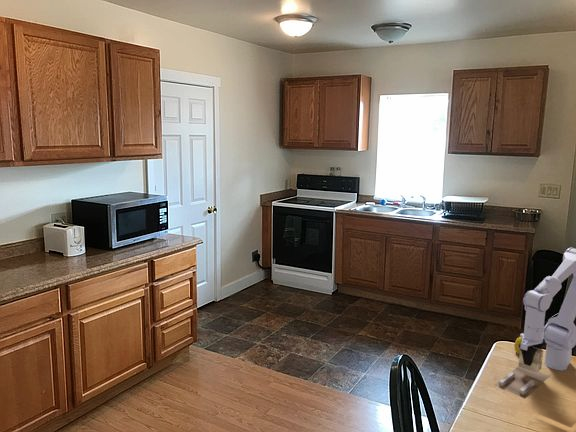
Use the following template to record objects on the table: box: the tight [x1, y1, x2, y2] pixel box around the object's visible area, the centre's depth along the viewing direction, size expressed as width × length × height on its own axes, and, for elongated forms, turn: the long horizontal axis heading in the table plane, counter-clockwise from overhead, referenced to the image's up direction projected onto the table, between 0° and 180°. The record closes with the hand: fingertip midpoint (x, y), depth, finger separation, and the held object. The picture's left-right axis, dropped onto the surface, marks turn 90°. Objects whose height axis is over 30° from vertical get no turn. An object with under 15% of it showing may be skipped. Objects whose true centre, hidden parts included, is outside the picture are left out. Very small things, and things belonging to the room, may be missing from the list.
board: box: [494, 366, 550, 399], centre depth 161 cm, size 20×10×3 cm, turn 131°
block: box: [517, 347, 544, 373], centre depth 163 cm, size 4×6×7 cm, turn 41°
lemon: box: [514, 336, 523, 355], centre depth 180 cm, size 6×6×8 cm
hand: (530, 362), depth 164 cm, fingers closed on block, 4 cm apart
